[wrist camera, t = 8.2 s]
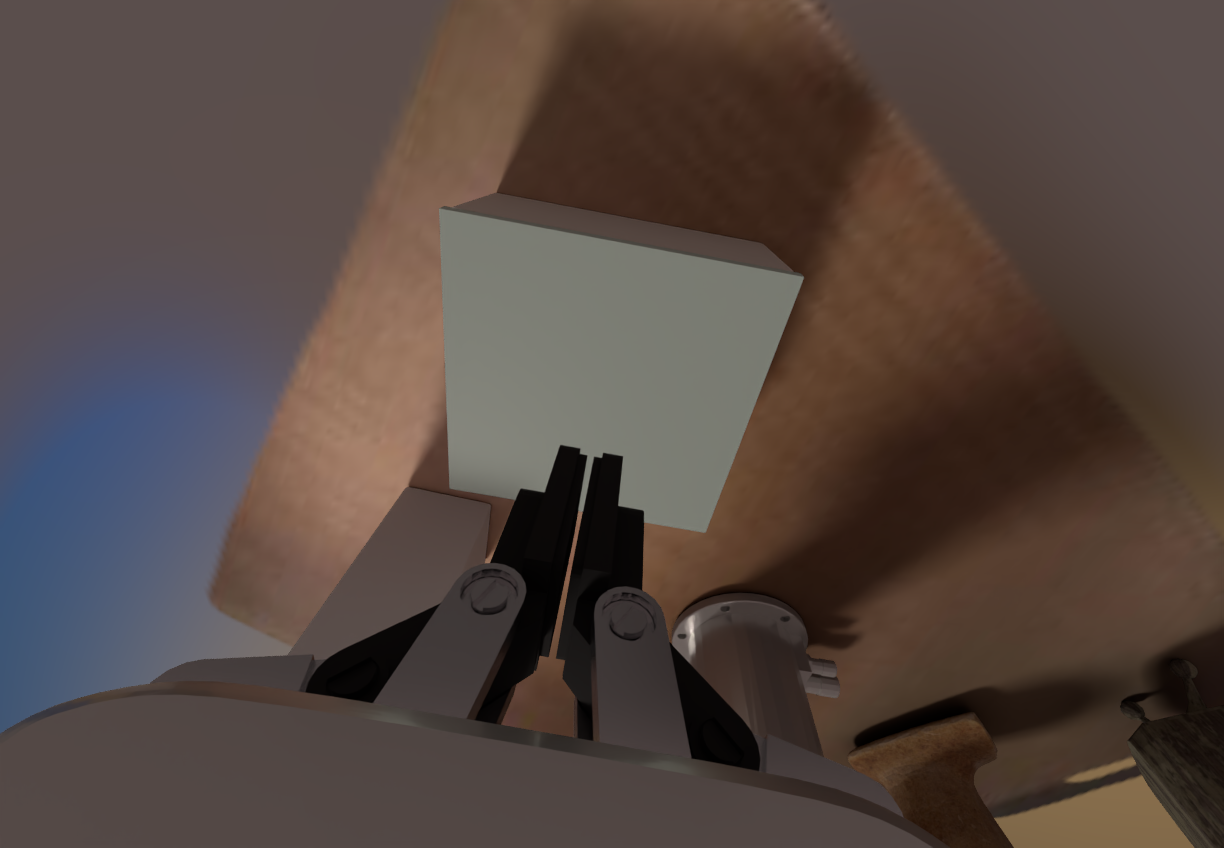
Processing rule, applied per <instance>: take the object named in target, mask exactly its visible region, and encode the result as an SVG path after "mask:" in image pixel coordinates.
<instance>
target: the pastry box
mask: <svg viewBox="0 0 1224 848" xmlns="http://www.w3.org/2000/svg"><path fill="white" fill-rule="evenodd" d="M452 208H457V209H462V210H467V211H473V212H478V213H483V214H489V215H494V216H499V217H505V218H510V219H515V220H520V221H526V222H531V223H536V224H542V225H547V226H552V227H558V228H563V229H568V230H574V231H579V232H584V233H589V234H595V235H600V236H605V237H611V238H616V239H621V240H627V241H632V242H637V243H643V244H648V245H653V246H659V247H664V248H669V249H674V250H680V251H685V252H690V253H696V254H701V255H706V256H712V257H717V258H722V259H728V260H733V261H738V262H743V263H749V264H754V265H759V266H765V267H770V268H775V269H781V270H786V271H791V272H794V271H793V270H792V269H791V268H789V267H788V266H787V265H786V264H785V263H784V262H783V261H782V260H780V259H779V258H778V257H777V256H776V255H775V254H774V253H773V252H772V251H770V250H769V249H768V248H767V247H766V246H765V245H764V244H763V243H759V242H754V241H748V240H743V239H738V238H732V237H727V236H722V235H717V234H711V233H706V232H701V231H696V230H690V229H685V228H680V227H674V226H669V225H664V224H659V223H653V222H648V221H643V220H638V219H632V218H627V217H622V216H616V215H611V214H606V213H601V212H595V211H590V210H585V209H580V208H574V207H569V206H564V205H558V204H553V203H548V202H543V201H537V200H532V199H527V198H522V197H516V196H511V195H506V194H500V193H494V194H491V195H488V196H485V197H481V198H478V199H475V200H472V201H469V202H466V203H463V204H460V205H457V206H454V207H452Z"/></svg>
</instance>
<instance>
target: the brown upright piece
mask: <svg viewBox="0 0 1224 848" xmlns="http://www.w3.org/2000/svg"><path fill="white" fill-rule="evenodd" d="M996 753H997V748H996V746H995V744H994V743H993V741H992V738H991V736H990V735H989V733H988V732H987V730H986V729H985V727H984V725H983V724H982V722H981V721H980V719H979V718H978V717H977V715H976V714H975V713H974V712H968V713H964V714H960V715H956V716H952V717H948V718H945V719H942V720H938V721H934V722H930V723H927V724H924V725H921V726H917V727H914V728H910V729H907V730H904V731H902V732H899V733H896V734H892V735H889V736H886V737H884V738H881V739H878V740H875V741H873V742H870V743H868V744H865V745H862V746H860V747H857V748H856V749H854V750H852V751H851V752H850V753H849V754H848V761H849V762H850V764H851V765H852V766H853V768H854V769H855V770H856V771H858V772H860V773H862V774H865V775H866V776H868V777H870V778H871V779H873V780H874V781H877V782H879V783H881V784H882V785H884V786H885V787H886V789H887V791H888V793H889V794H890V795H891V796H892V797H893V799H894V801H895V802H896V804H897V805H898V807H899V808H900V810H901V812H902V814H903V817H904V818H905V819H907V820H909V821H911V822H913V823H914V824H916V825H917V826H919V827H920V828H922V829H924V830H925V831H927V832H928V833H930V834H931V835H933V836H934V837H936V838H937V839H939V840H940V841H941V842H943V843H944V844H946V845H947V846H948V847H950V848H1014V847H1013V846H1012V844H1011V843H1010V841H1009V840H1008V838H1007V837H1006V835H1005V834H1004V833H1003V831H1002V830H1001V828H1000V827H999V825H998V824H997V822H996V821H995V819H994V818H993V816H992V815H991V813H990V812H989V810H988V809H987V807H986V806H985V804H984V803H983V801H982V799H981V798H980V796H979V794H978V792H977V790H976V788H975V785H974V774H975V772H976V770H977V769H978V768H979V767H981V766H983V765H985V764H987V763H989V762H991V761H993V760H995V759H996V756H997V754H996Z"/></svg>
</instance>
